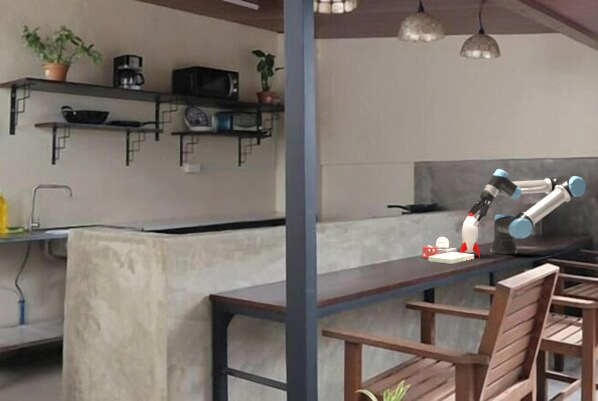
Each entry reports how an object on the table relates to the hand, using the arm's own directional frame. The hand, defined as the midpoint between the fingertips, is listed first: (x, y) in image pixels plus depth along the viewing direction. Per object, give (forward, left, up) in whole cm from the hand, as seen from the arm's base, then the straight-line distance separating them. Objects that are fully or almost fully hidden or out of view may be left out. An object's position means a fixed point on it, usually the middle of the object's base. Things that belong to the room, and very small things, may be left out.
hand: (469, 225), depth 364 cm
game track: (+17, +13, -18) cm, 28 cm away
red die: (+25, +3, -18) cm, 31 cm away
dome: (+14, -5, -15) cm, 21 cm away
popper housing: (+14, -5, -18) cm, 23 cm away
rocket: (0, +1, -18) cm, 18 cm away
